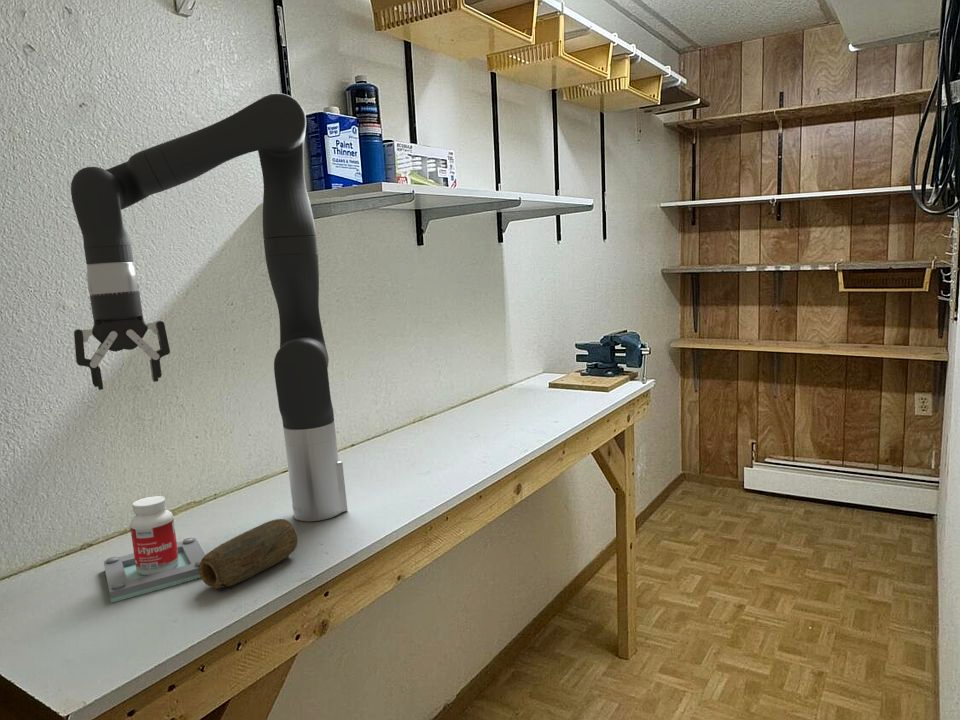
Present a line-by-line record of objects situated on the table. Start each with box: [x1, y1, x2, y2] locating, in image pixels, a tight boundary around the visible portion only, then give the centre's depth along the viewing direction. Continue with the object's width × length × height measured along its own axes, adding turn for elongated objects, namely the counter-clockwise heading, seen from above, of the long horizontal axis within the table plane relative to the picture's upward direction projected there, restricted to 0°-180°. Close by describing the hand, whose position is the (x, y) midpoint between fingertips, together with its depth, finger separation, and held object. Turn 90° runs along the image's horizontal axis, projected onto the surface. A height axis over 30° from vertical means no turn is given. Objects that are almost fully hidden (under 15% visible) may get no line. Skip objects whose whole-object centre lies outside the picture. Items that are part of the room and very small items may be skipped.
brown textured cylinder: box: [199, 518, 298, 590], centre depth 108 cm, size 15×7×7 cm, turn 150°
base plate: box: [103, 537, 206, 603], centre depth 111 cm, size 14×14×2 cm
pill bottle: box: [129, 495, 179, 575], centre depth 110 cm, size 6×6×11 cm
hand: (128, 385), depth 121 cm, fingers open, 8 cm apart
